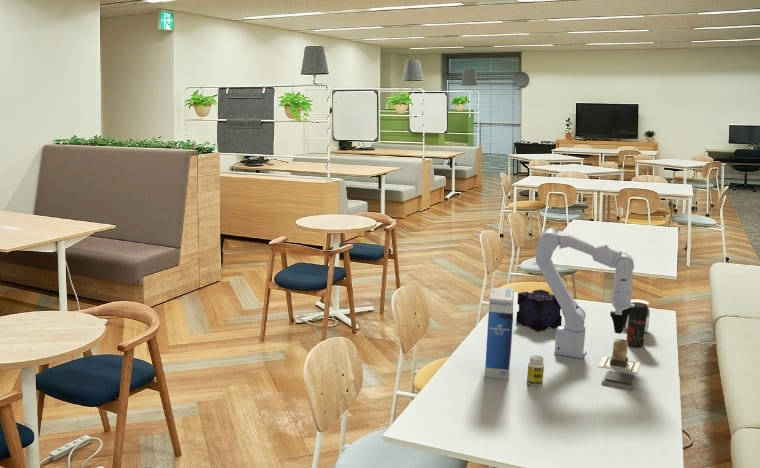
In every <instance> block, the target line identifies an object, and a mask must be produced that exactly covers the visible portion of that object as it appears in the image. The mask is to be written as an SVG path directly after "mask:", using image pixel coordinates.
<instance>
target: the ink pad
mask: <svg viewBox="0 0 760 468" xmlns="http://www.w3.org/2000/svg"><path fill="white" fill-rule="evenodd" d="M636 381H637V375H636V376H635V374H633V373H627V372H622V371H621V372H619V371H616V370H611V369H610V370H607V371H606V372H605V374H604V376H603V379H602V380H601V385H603V386H604V385H605V386H610V387H615V388H619V389H626V390H631V391H633V390H634V387H635V384H636Z"/></svg>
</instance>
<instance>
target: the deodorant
mask: <svg viewBox="0 0 760 468" xmlns="http://www.w3.org/2000/svg"><path fill="white" fill-rule="evenodd" d="M631 304H635V306H634V307H632V309H631V310H630V312H629V319H628V329H627V330H626V331H627V332H626V340H628V347H631V348H635V349H636V348H637V349H638V348H643V347H645V337H646V336H645V335H646V334H645V327H646V317H647V307H648V305H647V304H644V303H640V302H632V303H631ZM648 308H649V307H648Z"/></svg>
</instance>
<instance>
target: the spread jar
mask: <svg viewBox="0 0 760 468" xmlns="http://www.w3.org/2000/svg"><path fill="white" fill-rule="evenodd" d="M632 302H640V303H644V304H647V305H648V307H647V317H646V327H645V335H646V334H647V333H648V330H649V324H650V314H651V313H650V312H651V311H650V308H649V307H650V302H649V301H648V300H647V301H646V300H643V299H637V298H636V299H631V303H632ZM628 319H629V315H628V318H627V322H626V325H625V330H626V331H627V329H628Z"/></svg>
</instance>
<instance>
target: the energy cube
mask: <svg viewBox="0 0 760 468" xmlns="http://www.w3.org/2000/svg"><path fill="white" fill-rule="evenodd" d="M517 305H518V311H516V319H515V323H516V324H519V325H521V326H523V327H526V326H527V327H529V329H530V330H532V331H535V332H544V331H547V329H553V330H554V329H557V328H558V326H562V322H563V321H562V319H563V315H561V312H562V310H561V307H560V305H559V303H558V301H557V299H556V298H555V296H554V294H551V293H550V292H549V291H547V290H545V289H542V288H541V289H534V290H532V292H529V291H522V292H517Z"/></svg>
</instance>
